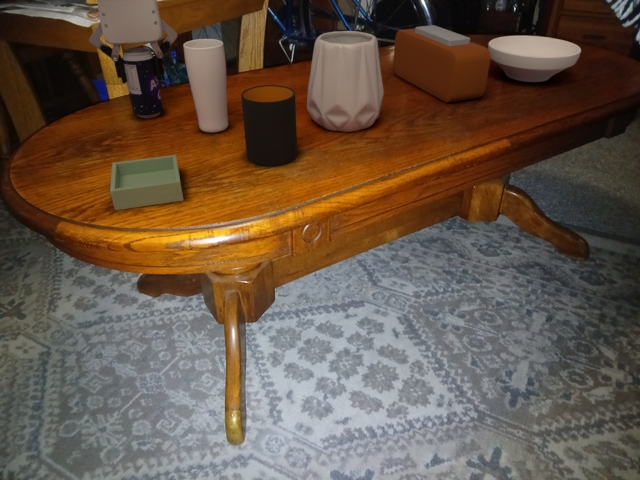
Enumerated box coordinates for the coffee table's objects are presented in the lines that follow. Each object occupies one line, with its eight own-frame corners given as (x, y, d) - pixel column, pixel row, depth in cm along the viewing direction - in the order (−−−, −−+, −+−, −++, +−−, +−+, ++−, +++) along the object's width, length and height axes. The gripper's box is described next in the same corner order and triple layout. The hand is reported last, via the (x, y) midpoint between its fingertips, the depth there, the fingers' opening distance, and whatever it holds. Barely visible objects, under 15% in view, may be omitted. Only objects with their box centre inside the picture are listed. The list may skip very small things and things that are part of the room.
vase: (376, 139, 90) (381, 49, 81) (298, 132, 92) (295, 44, 84) (386, 111, 101) (392, 29, 92) (317, 106, 104) (316, 26, 95)
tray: (115, 210, 70) (109, 191, 68) (116, 180, 77) (112, 162, 76) (183, 200, 72) (180, 181, 71) (179, 172, 80) (175, 154, 78)
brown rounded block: (484, 100, 106) (494, 42, 100) (449, 105, 103) (458, 47, 97) (422, 69, 124) (427, 19, 118) (391, 73, 122) (395, 22, 115)
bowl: (514, 61, 130) (520, 31, 126) (589, 79, 117) (598, 46, 113) (465, 76, 120) (470, 44, 116) (541, 97, 107) (550, 62, 103)
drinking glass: (234, 121, 97) (225, 38, 89) (231, 134, 92) (221, 48, 83) (197, 122, 97) (185, 38, 88) (192, 136, 91) (179, 48, 83)
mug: (265, 134, 92) (261, 76, 86) (307, 156, 84) (306, 94, 78) (225, 147, 87) (218, 86, 81) (265, 171, 80) (261, 106, 74)
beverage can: (159, 119, 98) (148, 54, 91) (130, 119, 98) (116, 54, 91) (166, 109, 103) (156, 46, 96) (138, 109, 103) (126, 46, 96)
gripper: (172, -33, 91) (187, 70, 101) (69, -29, 87) (94, 77, 97) (175, -27, 85) (190, 81, 95) (64, -24, 81) (92, 89, 91)
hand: (142, 78), depth 96 cm, fingers closed on beverage can, 5 cm apart
